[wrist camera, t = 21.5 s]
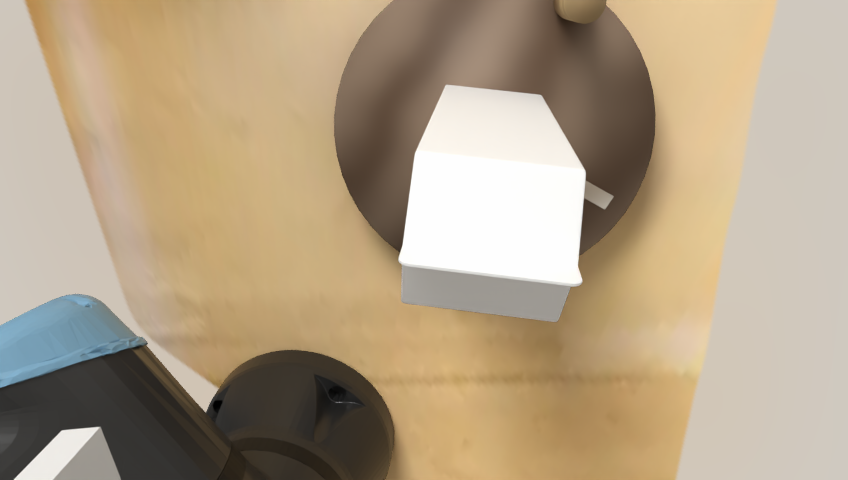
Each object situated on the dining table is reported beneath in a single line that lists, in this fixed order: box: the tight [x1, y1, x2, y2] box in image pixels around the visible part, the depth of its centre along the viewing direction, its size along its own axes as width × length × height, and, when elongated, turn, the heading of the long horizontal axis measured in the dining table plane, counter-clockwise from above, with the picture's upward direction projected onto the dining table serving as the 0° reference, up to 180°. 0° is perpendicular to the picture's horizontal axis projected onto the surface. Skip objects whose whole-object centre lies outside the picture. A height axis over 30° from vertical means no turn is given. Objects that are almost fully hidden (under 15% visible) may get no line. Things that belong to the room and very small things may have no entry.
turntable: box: [334, 0, 655, 255], centre depth 40 cm, size 20×20×9 cm
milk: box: [398, 85, 586, 322], centre depth 31 cm, size 6×6×22 cm
